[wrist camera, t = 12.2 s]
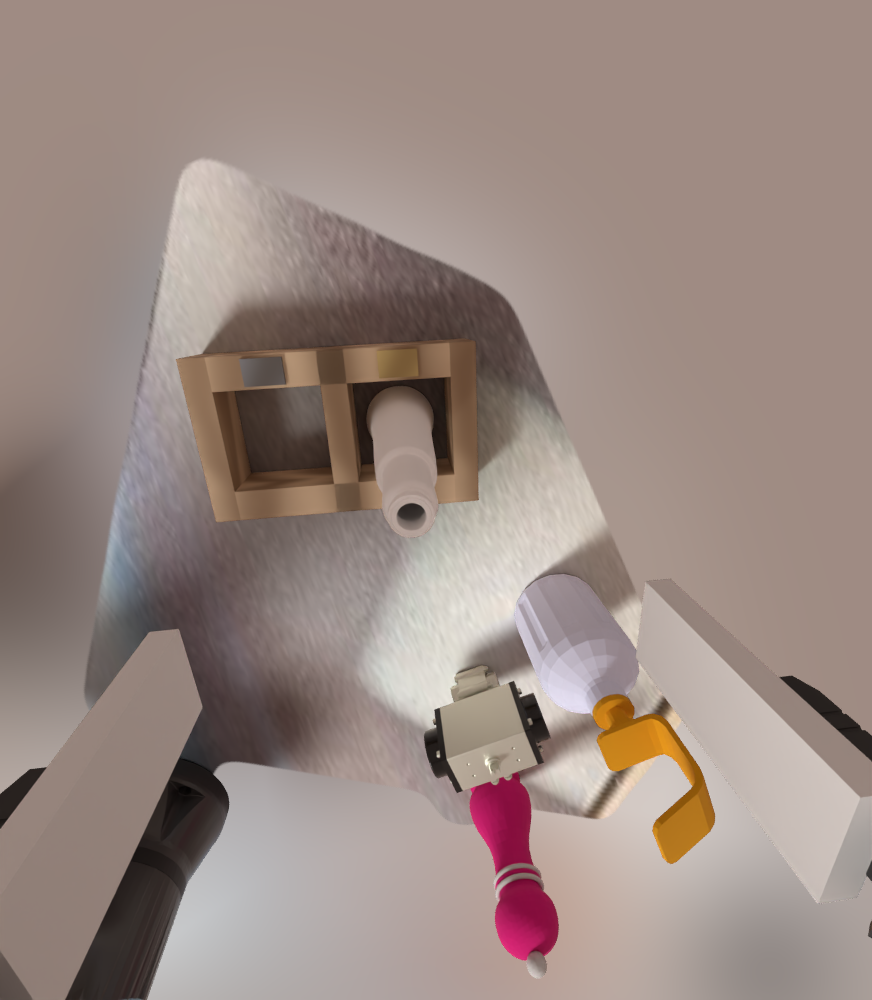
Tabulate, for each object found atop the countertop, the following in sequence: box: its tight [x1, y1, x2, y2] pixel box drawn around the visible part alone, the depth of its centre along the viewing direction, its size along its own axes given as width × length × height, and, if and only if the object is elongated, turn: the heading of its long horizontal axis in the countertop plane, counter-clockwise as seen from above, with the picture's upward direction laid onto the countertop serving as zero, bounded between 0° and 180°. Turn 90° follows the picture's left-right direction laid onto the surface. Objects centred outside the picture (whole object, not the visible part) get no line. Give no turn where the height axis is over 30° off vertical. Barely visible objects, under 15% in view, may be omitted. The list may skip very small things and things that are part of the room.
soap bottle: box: [514, 574, 715, 864], centre depth 40 cm, size 9×9×25 cm
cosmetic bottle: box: [366, 386, 438, 538], centre depth 32 cm, size 6×6×22 cm
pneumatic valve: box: [424, 665, 551, 793], centre depth 48 cm, size 6×12×12 cm, turn 110°
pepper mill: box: [470, 772, 559, 978], centre depth 50 cm, size 7×7×20 cm
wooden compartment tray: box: [176, 339, 479, 522], centre depth 39 cm, size 22×13×5 cm, turn 93°
